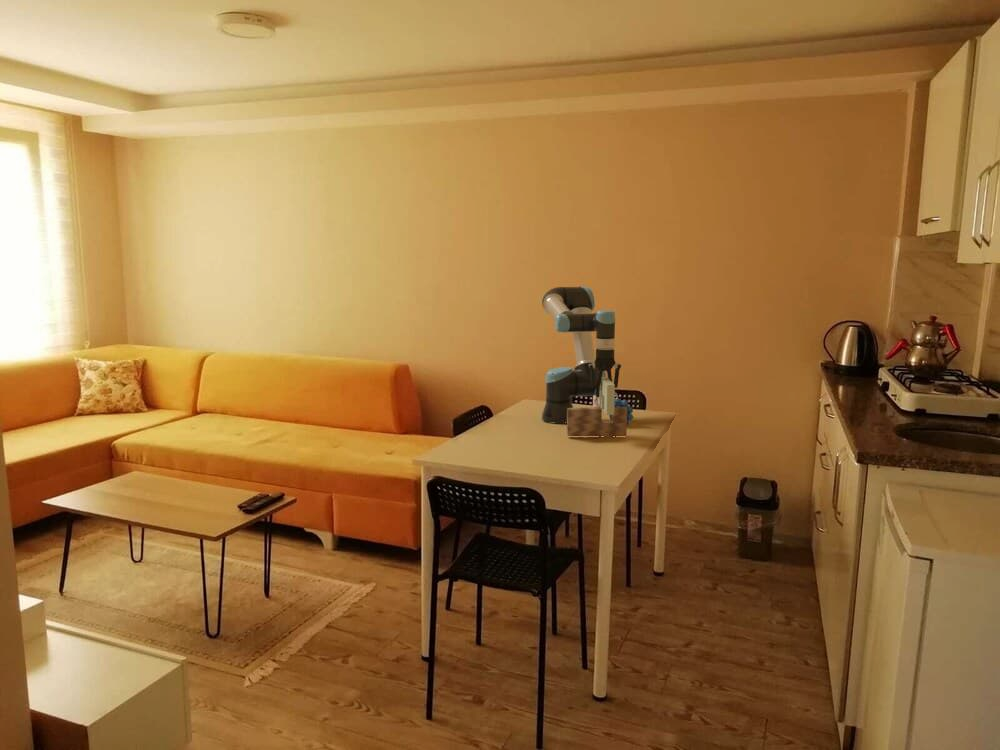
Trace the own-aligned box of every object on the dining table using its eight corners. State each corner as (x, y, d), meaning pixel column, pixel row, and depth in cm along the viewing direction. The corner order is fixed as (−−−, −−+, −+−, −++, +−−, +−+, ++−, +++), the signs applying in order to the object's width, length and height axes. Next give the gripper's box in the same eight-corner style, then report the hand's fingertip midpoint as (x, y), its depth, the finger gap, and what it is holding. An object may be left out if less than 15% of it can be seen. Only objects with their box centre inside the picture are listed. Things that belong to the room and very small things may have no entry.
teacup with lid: (591, 408, 349) (592, 384, 347) (593, 404, 357) (593, 381, 355) (616, 409, 346) (617, 385, 344) (618, 405, 355) (618, 381, 353)
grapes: (604, 426, 314) (605, 399, 312) (607, 422, 321) (608, 396, 319) (631, 428, 311) (632, 400, 308) (633, 424, 317) (634, 397, 315)
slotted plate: (599, 405, 303) (600, 377, 301) (606, 405, 303) (607, 377, 301) (606, 414, 288) (607, 385, 285) (614, 414, 288) (614, 384, 286)
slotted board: (567, 438, 296) (568, 409, 293) (566, 436, 299) (567, 407, 296) (626, 437, 296) (627, 408, 294) (624, 435, 299) (625, 407, 297)
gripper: (587, 350, 293) (586, 406, 297) (626, 349, 294) (625, 406, 298) (584, 347, 301) (583, 402, 305) (622, 346, 301) (621, 402, 305)
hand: (604, 404), depth 301 cm, fingers closed on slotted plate, 3 cm apart
